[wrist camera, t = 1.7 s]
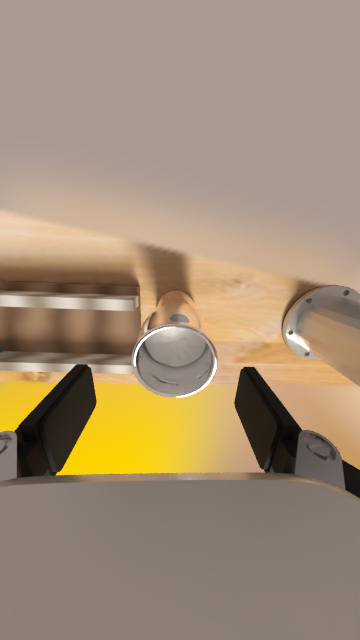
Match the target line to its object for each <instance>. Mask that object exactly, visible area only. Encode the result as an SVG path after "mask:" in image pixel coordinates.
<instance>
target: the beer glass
mask: <svg viewBox="0 0 360 640" xmlns="http://www.w3.org/2000/svg"><path fill="white" fill-rule="evenodd" d="M217 365H218V356H217V351H216V349H215V346H214V342H213V339H212V335H211V332H210V329H209V327H208V325H207V323H206V321H205V319H204V318H203V316H202V315H201V314H200V313H199V312H198V311H197V310H196V309H195V305H194V302H193V300H192V299H191V297H190V296H189V295H187V294H186V293H184V292H181V291H171V292H168V293H166V294H164V295H163V296H162V297H161V298H160V300H159V302H158V305H157V308H156V309H155V310H153V311H152V312H151V313H150V315H149V316H148V317H147V319H146V320H145V322H144V324H143V326H142V328H141V330H140V333H139V336H138V339H137V342H136V345H135V347H134V349H133V353H132V368H133V372H134V374H135V376H136V378H137V379H138V381H139V382H140V383H141V384H142V385H143V386H144V387H145V388H146V389H148V390H149V391H151V392H153V393H155V394H157V395H160V396H164V397H170V398H179V397H185V396H189V395H192V394H195V393H197V392H199V391H200V390H202V389H203V388H204V387H206V386H207V385H208V384H209V382H210V381H211V380H212V378H213V377H214V375H215V373H216V370H217Z"/></svg>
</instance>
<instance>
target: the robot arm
mask: <svg viewBox="0 0 360 640" xmlns="http://www.w3.org/2000/svg"><path fill="white" fill-rule="evenodd" d="M282 331H283V338H284V341H285V343H286V345H287V347H288V348H289V349H290V350H291V351H293V352H294V353H295V354H297V355H299V356H301V357H303V358H308V359H321V360H322V361H323V362H325V363H326V364H328V365H329V366H331V367H332V368H334V369H335V370H336V371H338V372H339V373H341V374H342V375H344V376H345V377H347V378H348V379H350V380H351V381H352V382H354V383H355V384H357V385H358V386H360V294H358V293H357V292H356V291H355V290H353V289H351V288H348V287H344V286H338V285H328V286H322V287H319V288H315V289H313V290H311V291H309V292H307V293H306V294H305V295H303V296H302V297H300V298H299V299H298V300H297V301H296V302H295V303H294V304H293V306H292V307H291V308H290V309H289V311H288V313H287V315H286V317H285V320H284V323H283V329H282ZM95 406H96V396H95V389H94V383H93V377H92V371H91V367H88V365H87V364H76V365H75V366H74V367H73V368H72V369H71V370H70V371H69V372H68V374H67V375H66V376H65V377H64V378H63V379H62V380H61V381H60V382H59V383H58V384H57V385H56V386H55V387H54V388H53V390H52V391H51V392H50V393H49V394H48V395H47V396H46V397H45V398H44V399H43V400H42V401H41V402H40V403H39V404H38V405H37V407H36V408H35V409H34V410H33V411H32V412H31V413H30V414H29V415H28V416H27V417H26V418H25V419H24V420H23V421H22V422H21V424H20V425H19V427H18V428H17V429H16V430H15V431H14V432H13V431H4V432H0V640H360V470H359V469H357V468H355V467H354V466H352V465H350V464H349V463H347V462H345V461H343V460H342V458H341V455H340V452H339V451H338V450H337V448H336V447H335V446H334V445H333V444H332V443H331V442H330V441H329V440H328V439H327V438H325V437H324V436H322V435H320V434H319V433H316V432H314V431H309V430H304V431H302V429H301V428H300V427H299V425H298V424H297V423H296V421H295V420H294V419H293V417H292V416H291V415H290V413H289V412H288V411H287V409H286V408H285V407H284V405H283V404H282V403H281V401H280V400H279V399H278V397H277V396H276V395H275V394H274V392H273V391H272V390H271V389H270V387H269V386H268V385H267V383H266V382H265V381H264V379H263V378H262V377H261V375H260V374H259V373H258V371H257V370H256V369H255V368H254V367H244V368H243V369H241V372H240V377H239V382H238V387H237V392H236V397H235V408H236V411H237V413H238V416H239V418H240V420H241V422H242V425H243V428H244V430H245V432H246V435H247V437H248V440H249V442H250V444H251V447H252V449H253V451H254V454H255V456H256V459H257V461H258V464H259V466H260V468H261V469H264V471H265V473H245V472H243V473H154V474H153V473H149V474H96V475H95V474H94V475H58V476H55V475H56V473H57V472H60V471H61V470H62V468H63V466H64V464H65V463H66V461H67V459H68V457H69V455H70V453H71V451H72V449H73V448H74V446H75V444H76V442H77V440H78V438H79V436H80V435H81V433H82V431H83V429H84V427H85V425H86V423H87V422H88V420H89V418H90V416H91V414H92V412H93V410H94V408H95Z"/></svg>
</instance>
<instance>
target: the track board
mask: <svg viewBox="0 0 360 640" xmlns="http://www.w3.org/2000/svg"><path fill="white" fill-rule="evenodd" d="M140 330H141V310H140V286H120V285H95V284H70V283H45V282H20V281H0V371H36V372H69V371H70V370H71V369H72V368H73V367H74V366H75V365H76V364H87V365H88V367H91V371H92V373H117V374H134V372H133V368H132V353H133V349H134V347H135V345H136V342H137V339H138V336H139V333H140Z"/></svg>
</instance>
